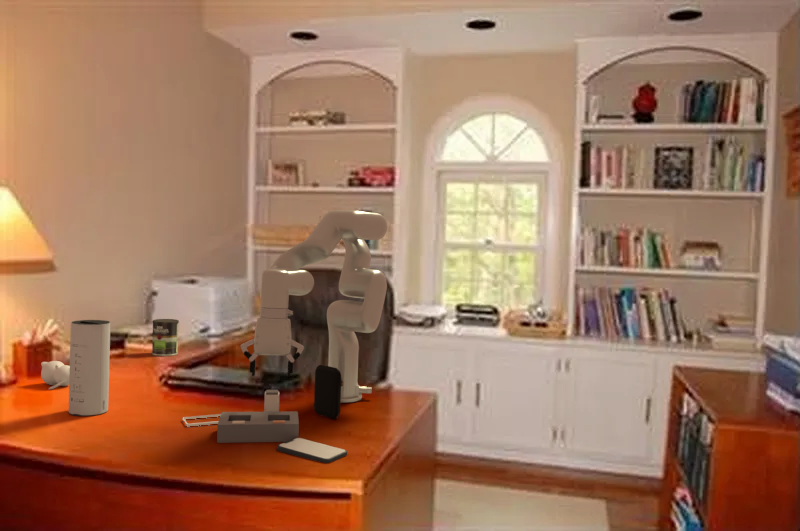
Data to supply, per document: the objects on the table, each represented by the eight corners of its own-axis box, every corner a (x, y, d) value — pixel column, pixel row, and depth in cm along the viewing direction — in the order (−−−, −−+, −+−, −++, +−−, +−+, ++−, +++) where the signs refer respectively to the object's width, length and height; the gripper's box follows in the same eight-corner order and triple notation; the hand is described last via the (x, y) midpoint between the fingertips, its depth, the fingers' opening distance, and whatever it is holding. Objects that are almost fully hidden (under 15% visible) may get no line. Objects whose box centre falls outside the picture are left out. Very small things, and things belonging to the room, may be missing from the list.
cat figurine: (74, 358, 220) (49, 353, 226) (49, 380, 213) (23, 374, 218) (85, 378, 225) (61, 372, 230) (61, 400, 217) (36, 394, 223)
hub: (297, 427, 185) (297, 410, 184) (298, 441, 173) (298, 422, 173) (221, 428, 181) (221, 410, 181) (217, 442, 169) (217, 423, 169)
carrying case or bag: (344, 419, 194) (346, 368, 194) (337, 421, 192) (339, 370, 191) (318, 412, 201) (320, 363, 200) (311, 414, 199) (312, 364, 198)
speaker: (117, 410, 195) (118, 320, 194) (86, 418, 186) (88, 323, 185) (90, 405, 200) (92, 316, 199) (59, 413, 190) (61, 320, 189)
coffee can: (170, 357, 278) (171, 322, 277) (147, 355, 279) (147, 321, 279) (182, 352, 288) (183, 319, 287) (159, 351, 289) (160, 318, 289)
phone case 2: (349, 456, 165) (298, 442, 173) (349, 450, 165) (298, 436, 173) (327, 466, 157) (274, 451, 165) (327, 460, 157) (274, 445, 165)
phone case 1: (236, 417, 195) (181, 422, 188) (236, 412, 195) (182, 417, 188) (242, 423, 188) (186, 429, 181) (242, 419, 188) (187, 424, 181)
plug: (278, 419, 192) (279, 389, 192) (278, 423, 188) (279, 392, 188) (264, 419, 192) (265, 389, 191) (263, 423, 188) (264, 392, 187)
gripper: (305, 313, 194) (302, 373, 194) (242, 311, 191) (240, 372, 191) (306, 316, 186) (303, 378, 187) (241, 314, 183) (238, 377, 184)
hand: (271, 375), depth 189 cm, fingers open, 9 cm apart
